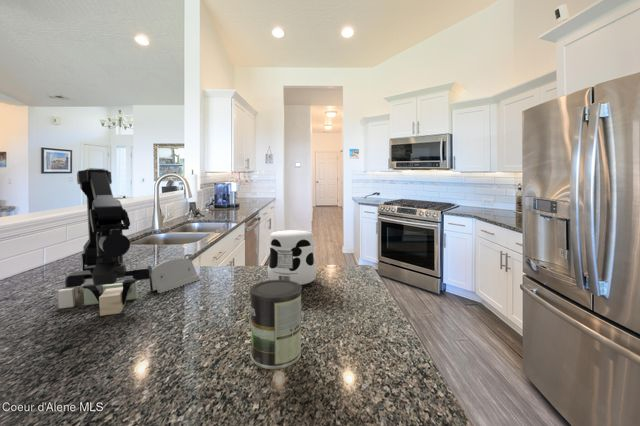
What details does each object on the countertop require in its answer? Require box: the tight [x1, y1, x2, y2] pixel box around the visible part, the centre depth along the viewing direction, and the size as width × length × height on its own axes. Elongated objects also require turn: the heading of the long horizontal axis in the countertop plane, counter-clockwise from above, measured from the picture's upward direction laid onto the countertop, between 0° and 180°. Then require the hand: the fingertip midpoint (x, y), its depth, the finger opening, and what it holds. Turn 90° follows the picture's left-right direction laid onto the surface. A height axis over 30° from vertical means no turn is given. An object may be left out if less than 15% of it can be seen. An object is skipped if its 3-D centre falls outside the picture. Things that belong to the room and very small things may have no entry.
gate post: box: [73, 285, 84, 307], centre depth 85 cm, size 2×2×6 cm
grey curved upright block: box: [147, 258, 201, 294], centre depth 103 cm, size 17×5×10 cm, turn 152°
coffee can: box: [249, 279, 303, 370], centre depth 59 cm, size 10×10×14 cm
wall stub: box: [57, 287, 76, 310], centre depth 84 cm, size 2×3×5 cm, turn 114°
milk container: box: [267, 229, 317, 287], centre depth 104 cm, size 17×17×18 cm
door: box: [82, 280, 138, 306], centre depth 87 cm, size 3×13×5 cm, turn 114°
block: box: [98, 287, 127, 317], centre depth 81 cm, size 7×4×5 cm, turn 23°
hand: (113, 305), depth 81 cm, fingers open, 4 cm apart
